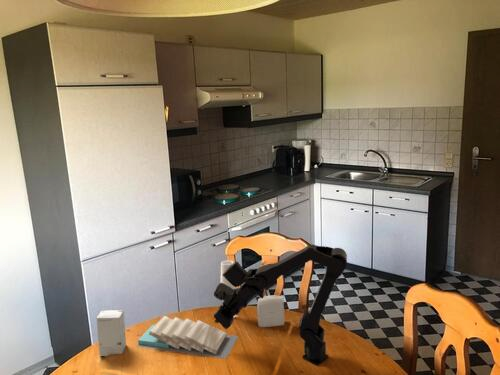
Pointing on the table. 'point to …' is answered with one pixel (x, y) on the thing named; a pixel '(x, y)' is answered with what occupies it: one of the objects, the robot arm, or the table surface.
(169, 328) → the domino
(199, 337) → the domino
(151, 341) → the domino
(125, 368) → the table surface
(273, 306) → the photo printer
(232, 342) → the domino board
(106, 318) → the skincare box
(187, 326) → the domino
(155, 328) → the domino
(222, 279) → the champagne flute
